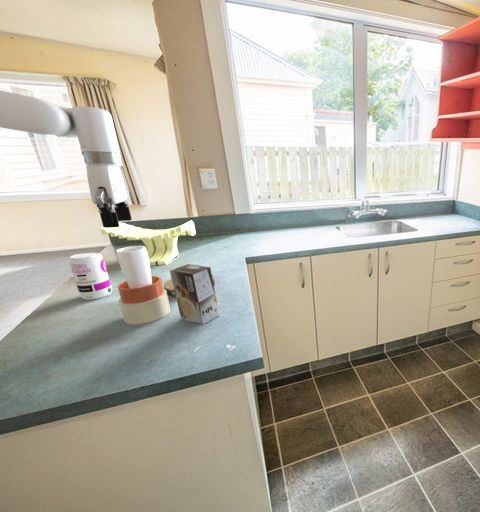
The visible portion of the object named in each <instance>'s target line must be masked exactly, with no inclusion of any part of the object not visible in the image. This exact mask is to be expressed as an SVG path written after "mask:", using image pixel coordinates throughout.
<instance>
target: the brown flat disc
mask: <svg viewBox="0 0 480 512" xmlns="http://www.w3.org/2000/svg"><path fill="white" fill-rule="evenodd" d="M212 279H213V284H214V287H215V286H216V281H215V277H214V275H213V274H212ZM163 289H165V290H166V291H167V295H168V297H171V298H176V295H175V291H174V287H173V282H172V278H170V279H168V280H167V281H166V282H164V283H163Z"/></svg>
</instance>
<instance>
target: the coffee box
mask: <svg viewBox="0 0 480 512" xmlns="http://www.w3.org/2000/svg"><path fill="white" fill-rule="evenodd" d="M169 273H170V279H172V282H173V287H174V291H175V295H176V297H175V299H176V303H177V307H178V311H179V315H180V320H182V321H186V322H191V323H196V324H201V325H204V324H205V325H206V324H207V323H209V322H210V321H211V320H213V319H215V318H217V317H219V316H220V312H219V305H218V301H217V295H216V290H215V286H214V284H213V279H212V275H213V274H212V267H211V266H203V265H199V264H190V263H187V264H184V265H181V266H179V267H176V268H174V269H171V270H169Z"/></svg>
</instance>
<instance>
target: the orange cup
mask: <svg viewBox="0 0 480 512" xmlns="http://www.w3.org/2000/svg"><path fill="white" fill-rule="evenodd" d="M151 277H152V284H151V285H148V286H144V287H140V288H132V289H129V286H128V284H127V281H126V280H124V281H122V282H120V283H119V284H118V285H117V290H118V294H119V299H120V298H121V301H122V302H123V303H127V304H134V303H141V302H146V301H149V300H153V299H155V298H158V297H159V296H161V295H163V293H164V283H163V280H162V278H161V277H160V276H158V275H151Z"/></svg>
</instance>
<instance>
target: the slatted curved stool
mask: <svg viewBox="0 0 480 512" xmlns="http://www.w3.org/2000/svg"><path fill="white" fill-rule="evenodd" d="M118 222H119V227H113V228H104V227H103V226H102V227H100V232H101V235H102V236H105V235H106V236H107V235H109V236H110V238H111V237H118V239H126V240H127V241H137V240H140V241H142V243H143V244H144V245H145V247H146V250H147V253H148V257H149V262H150V266H157V265H158V266H165V265H169V264H170V263H171V262H173V261H174V260H175V259H176V258H175V257H176V256H177V255H179V256H180V254H179V250H178V237H180V236H187V235H188V236H191V237H193V236H195V235H196V234H197V232H196V226H195V222H194V221H193V220H189V221H187V222H185V223H183V224H181V225H178V226H176V227H171V228H166V229H165V228H164V229H150V228H142V227H138V226H135V225H132V224H127V223H125V222H122V221H118ZM174 258H175V259H174ZM173 259H174V260H173ZM172 260H173V261H172Z"/></svg>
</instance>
